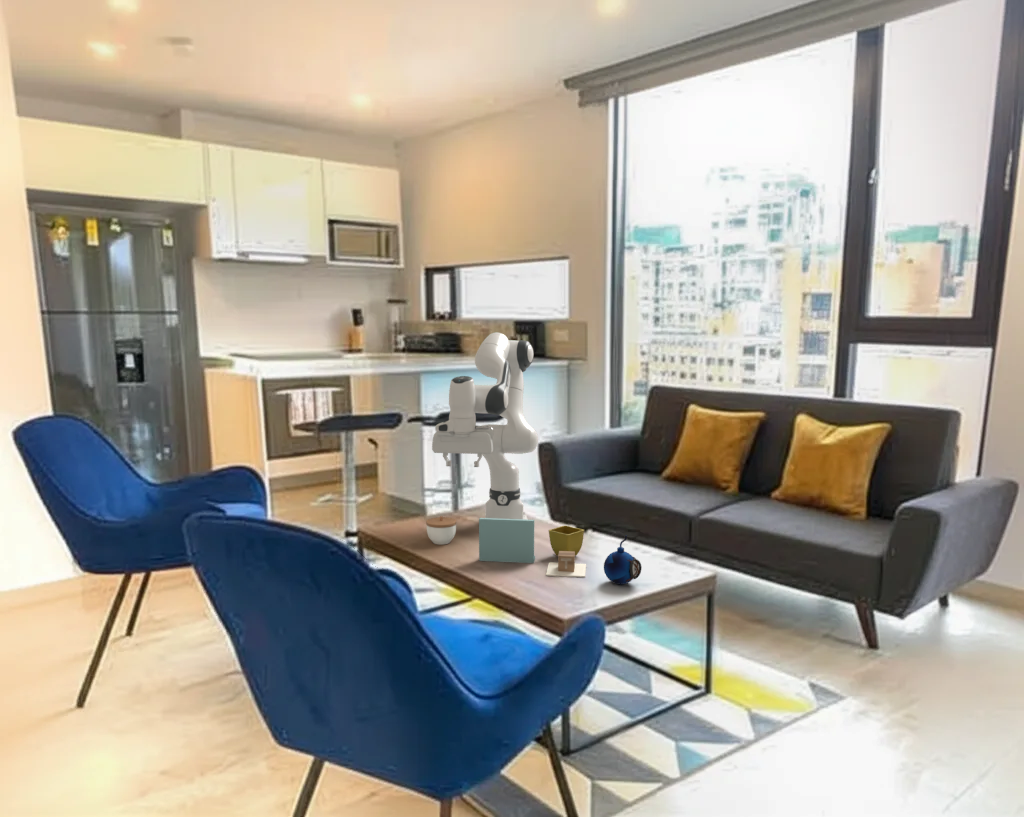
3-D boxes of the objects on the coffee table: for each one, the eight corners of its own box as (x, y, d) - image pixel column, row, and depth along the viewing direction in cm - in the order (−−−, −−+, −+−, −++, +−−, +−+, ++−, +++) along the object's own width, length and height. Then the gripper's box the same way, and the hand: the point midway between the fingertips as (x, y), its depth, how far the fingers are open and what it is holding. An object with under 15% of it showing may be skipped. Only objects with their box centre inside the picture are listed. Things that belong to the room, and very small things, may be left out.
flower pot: (547, 555, 246) (547, 529, 245) (564, 550, 253) (564, 524, 252) (567, 561, 240) (567, 534, 239) (584, 555, 246) (584, 529, 245)
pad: (549, 563, 238) (549, 562, 238) (586, 565, 237) (586, 563, 237) (546, 575, 226) (546, 574, 226) (585, 577, 225) (585, 576, 225)
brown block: (559, 566, 234) (559, 550, 234) (574, 566, 234) (574, 551, 233) (558, 571, 229) (558, 555, 229) (574, 572, 228) (574, 556, 228)
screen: (481, 556, 246) (481, 515, 244) (535, 558, 243) (535, 517, 242) (479, 560, 241) (479, 519, 239) (533, 563, 239) (533, 520, 237)
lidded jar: (462, 540, 264) (462, 514, 263) (446, 548, 255) (445, 521, 254) (437, 536, 269) (437, 511, 268) (420, 543, 260) (420, 517, 259)
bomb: (630, 592, 212) (631, 541, 211) (597, 584, 219) (598, 535, 217) (645, 583, 220) (646, 534, 218) (613, 575, 227) (614, 528, 225)
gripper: (494, 424, 246) (494, 465, 248) (434, 423, 248) (435, 464, 250) (492, 427, 240) (492, 469, 241) (430, 426, 242) (431, 467, 244)
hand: (462, 466), depth 246 cm, fingers open, 8 cm apart
